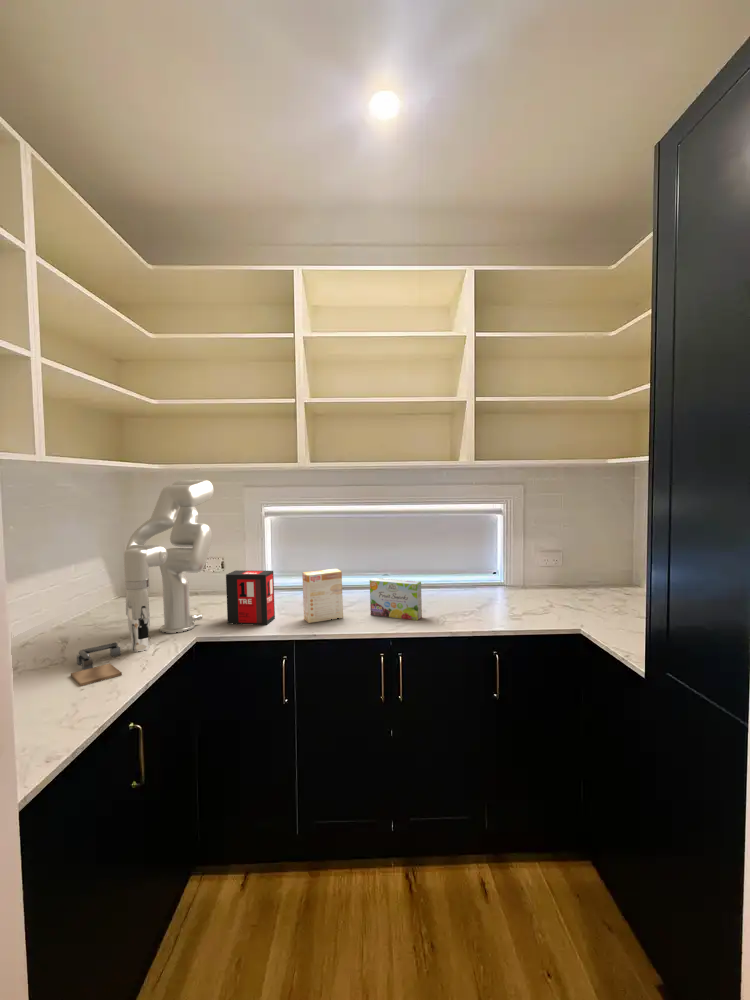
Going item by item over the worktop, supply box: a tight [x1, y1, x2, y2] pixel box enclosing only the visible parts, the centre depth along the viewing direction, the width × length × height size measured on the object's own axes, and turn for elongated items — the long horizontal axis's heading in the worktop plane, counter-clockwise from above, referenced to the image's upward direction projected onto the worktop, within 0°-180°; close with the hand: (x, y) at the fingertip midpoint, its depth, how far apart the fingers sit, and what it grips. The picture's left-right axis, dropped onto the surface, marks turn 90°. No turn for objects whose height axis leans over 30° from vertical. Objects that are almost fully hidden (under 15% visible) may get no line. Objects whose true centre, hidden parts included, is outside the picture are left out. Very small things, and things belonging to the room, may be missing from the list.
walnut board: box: [70, 663, 123, 687], centre depth 154 cm, size 11×11×1 cm
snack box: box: [369, 577, 423, 621], centre depth 210 cm, size 21×6×15 cm, turn 65°
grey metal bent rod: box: [76, 642, 121, 670], centre depth 166 cm, size 12×8×4 cm
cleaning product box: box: [225, 569, 276, 626], centre depth 208 cm, size 16×9×20 cm, turn 81°
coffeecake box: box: [301, 568, 344, 624], centre depth 209 cm, size 15×7×20 cm, turn 115°
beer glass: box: [127, 607, 151, 653], centre depth 177 cm, size 7×7×15 cm
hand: (139, 635), depth 177 cm, fingers closed on beer glass, 6 cm apart
